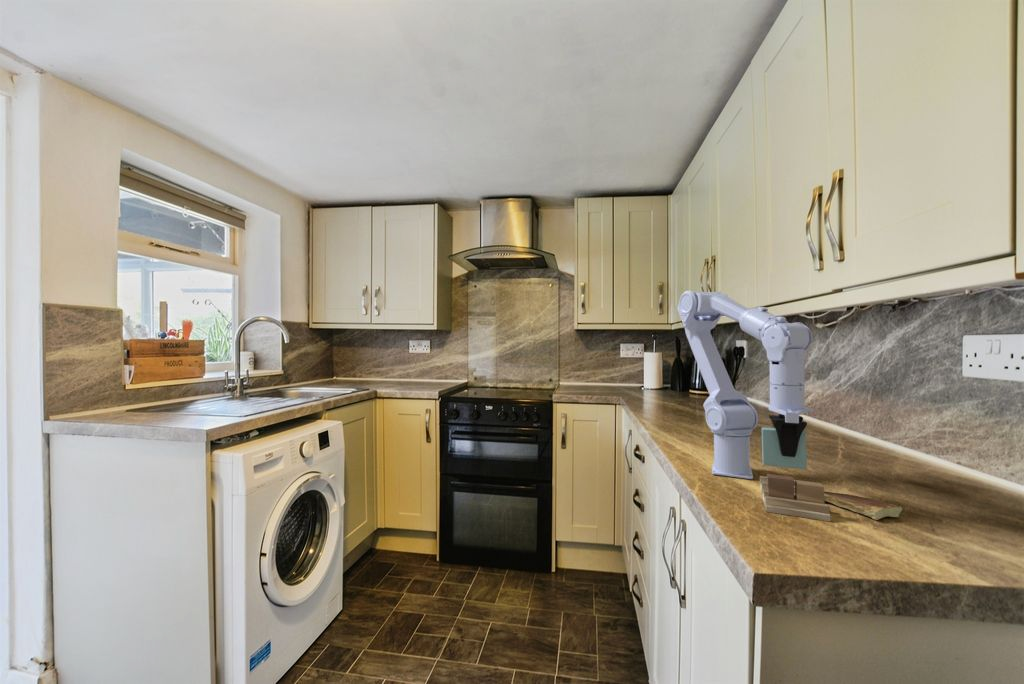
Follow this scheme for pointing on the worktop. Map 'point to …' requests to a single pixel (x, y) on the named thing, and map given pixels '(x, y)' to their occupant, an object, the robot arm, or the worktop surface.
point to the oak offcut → (809, 492)
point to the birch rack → (793, 505)
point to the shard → (863, 505)
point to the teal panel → (773, 453)
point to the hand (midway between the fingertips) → (787, 454)
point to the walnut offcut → (780, 486)
